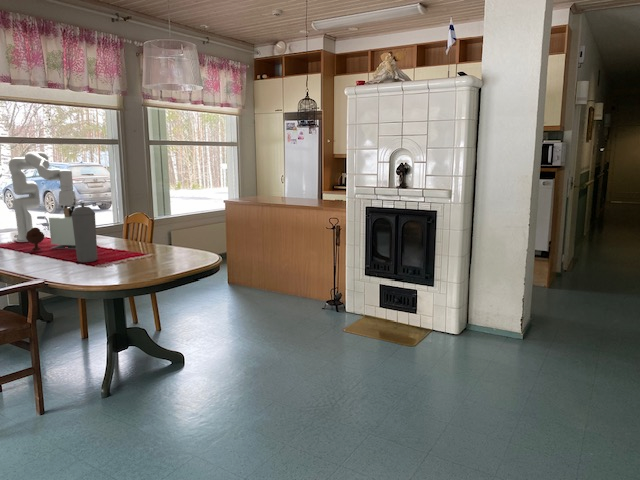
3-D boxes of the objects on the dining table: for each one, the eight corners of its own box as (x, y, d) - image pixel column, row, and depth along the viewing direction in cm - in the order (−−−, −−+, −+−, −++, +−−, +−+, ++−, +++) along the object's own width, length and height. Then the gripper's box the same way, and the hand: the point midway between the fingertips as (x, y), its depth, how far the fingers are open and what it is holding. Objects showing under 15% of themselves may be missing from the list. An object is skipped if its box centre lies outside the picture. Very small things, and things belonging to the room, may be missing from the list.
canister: (75, 264, 280) (70, 204, 273) (75, 259, 291) (70, 202, 284) (99, 261, 286) (94, 203, 279) (98, 257, 297) (93, 201, 290)
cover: (51, 244, 322) (48, 208, 318) (67, 239, 339) (64, 205, 334) (74, 245, 320) (72, 209, 316) (90, 240, 337) (87, 206, 332)
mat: (49, 248, 322) (49, 248, 321) (68, 242, 341) (68, 242, 341) (76, 249, 319) (76, 249, 319) (94, 243, 338) (94, 243, 338)
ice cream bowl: (49, 248, 323) (47, 226, 320) (38, 251, 312) (36, 228, 310) (34, 247, 324) (32, 225, 322) (23, 251, 314) (20, 228, 311)
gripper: (51, 188, 320) (54, 215, 324) (74, 189, 318) (76, 216, 321) (59, 187, 327) (61, 214, 331) (81, 188, 325) (83, 215, 329)
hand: (69, 215), depth 326 cm, fingers closed on cover, 3 cm apart
